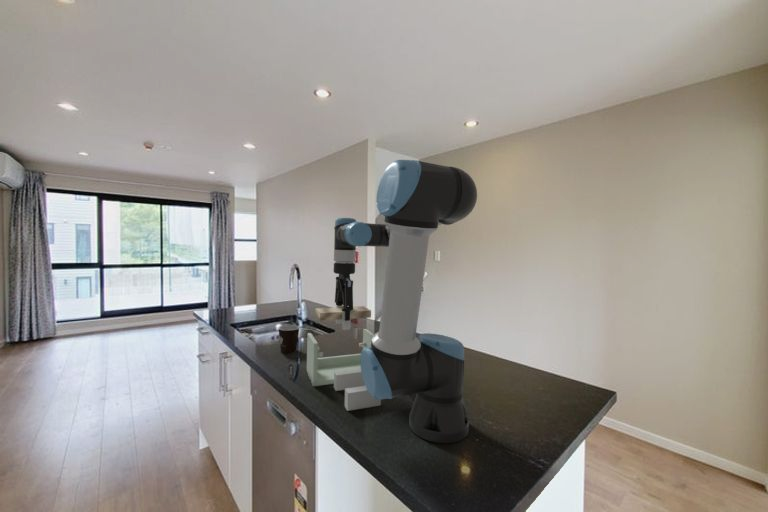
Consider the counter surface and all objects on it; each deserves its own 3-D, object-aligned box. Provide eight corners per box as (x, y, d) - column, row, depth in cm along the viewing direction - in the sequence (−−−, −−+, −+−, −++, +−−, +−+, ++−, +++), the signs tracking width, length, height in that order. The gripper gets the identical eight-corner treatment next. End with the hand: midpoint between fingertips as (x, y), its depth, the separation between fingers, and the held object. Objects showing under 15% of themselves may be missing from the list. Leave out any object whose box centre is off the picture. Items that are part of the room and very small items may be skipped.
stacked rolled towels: (319, 320, 106) (320, 313, 106) (315, 315, 113) (315, 308, 113) (370, 317, 113) (371, 310, 113) (363, 312, 120) (363, 306, 120)
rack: (380, 405, 93) (381, 388, 93) (347, 411, 89) (347, 393, 89) (362, 382, 107) (363, 368, 107) (333, 387, 104) (334, 371, 103)
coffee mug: (278, 348, 140) (278, 325, 140) (298, 347, 143) (299, 324, 142) (277, 357, 129) (278, 332, 129) (299, 355, 132) (300, 331, 131)
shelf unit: (377, 377, 112) (378, 337, 112) (313, 386, 104) (314, 343, 103) (365, 364, 124) (366, 328, 124) (306, 371, 116) (307, 333, 115)
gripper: (364, 264, 104) (362, 333, 105) (346, 260, 124) (345, 319, 124) (342, 264, 101) (339, 335, 102) (327, 260, 121) (325, 320, 121)
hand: (342, 326), depth 113 cm, fingers closed on stacked rolled towels, 8 cm apart
